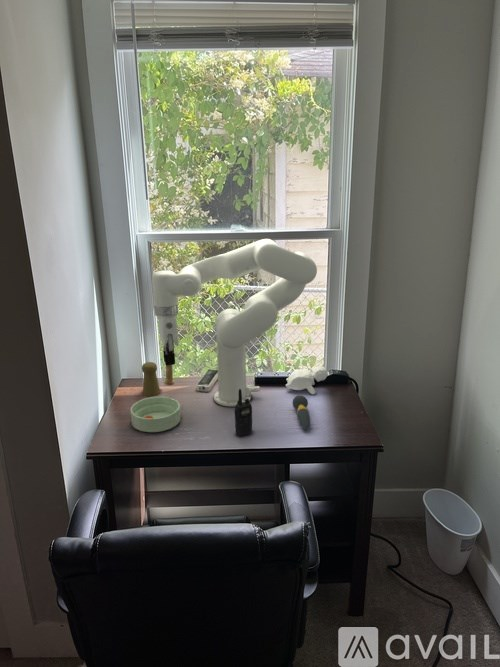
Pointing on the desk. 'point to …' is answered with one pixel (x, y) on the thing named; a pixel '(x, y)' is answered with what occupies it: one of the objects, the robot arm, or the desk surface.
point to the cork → (150, 379)
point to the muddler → (169, 375)
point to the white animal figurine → (305, 378)
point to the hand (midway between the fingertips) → (169, 362)
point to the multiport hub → (207, 381)
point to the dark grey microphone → (302, 411)
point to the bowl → (155, 414)
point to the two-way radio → (243, 416)
